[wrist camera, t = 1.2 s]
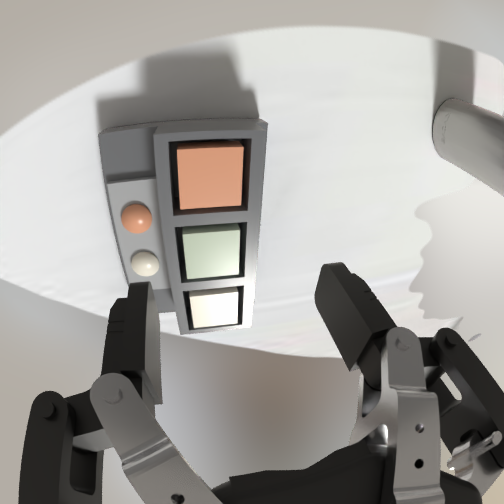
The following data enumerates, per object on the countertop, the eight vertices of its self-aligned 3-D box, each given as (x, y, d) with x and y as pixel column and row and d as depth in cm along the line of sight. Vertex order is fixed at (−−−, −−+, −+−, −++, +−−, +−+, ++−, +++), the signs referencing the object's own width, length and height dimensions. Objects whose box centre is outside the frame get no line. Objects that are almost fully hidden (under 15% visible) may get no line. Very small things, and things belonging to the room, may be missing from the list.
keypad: (260, 118, 23) (280, 131, 19) (249, 289, 35) (260, 325, 30) (106, 128, 20) (84, 144, 16) (138, 299, 32) (135, 337, 28)
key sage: (235, 218, 24) (240, 230, 22) (234, 260, 27) (238, 274, 25) (182, 222, 23) (182, 234, 22) (186, 265, 26) (187, 278, 24)
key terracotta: (238, 140, 20) (243, 147, 19) (236, 194, 23) (241, 205, 21) (177, 143, 19) (177, 149, 18) (180, 198, 22) (180, 209, 20)
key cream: (234, 278, 28) (238, 291, 26) (234, 309, 31) (237, 323, 29) (188, 282, 27) (189, 296, 25) (192, 313, 30) (194, 327, 28)
